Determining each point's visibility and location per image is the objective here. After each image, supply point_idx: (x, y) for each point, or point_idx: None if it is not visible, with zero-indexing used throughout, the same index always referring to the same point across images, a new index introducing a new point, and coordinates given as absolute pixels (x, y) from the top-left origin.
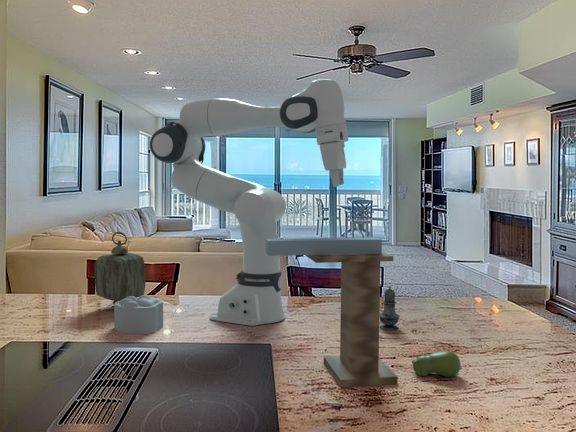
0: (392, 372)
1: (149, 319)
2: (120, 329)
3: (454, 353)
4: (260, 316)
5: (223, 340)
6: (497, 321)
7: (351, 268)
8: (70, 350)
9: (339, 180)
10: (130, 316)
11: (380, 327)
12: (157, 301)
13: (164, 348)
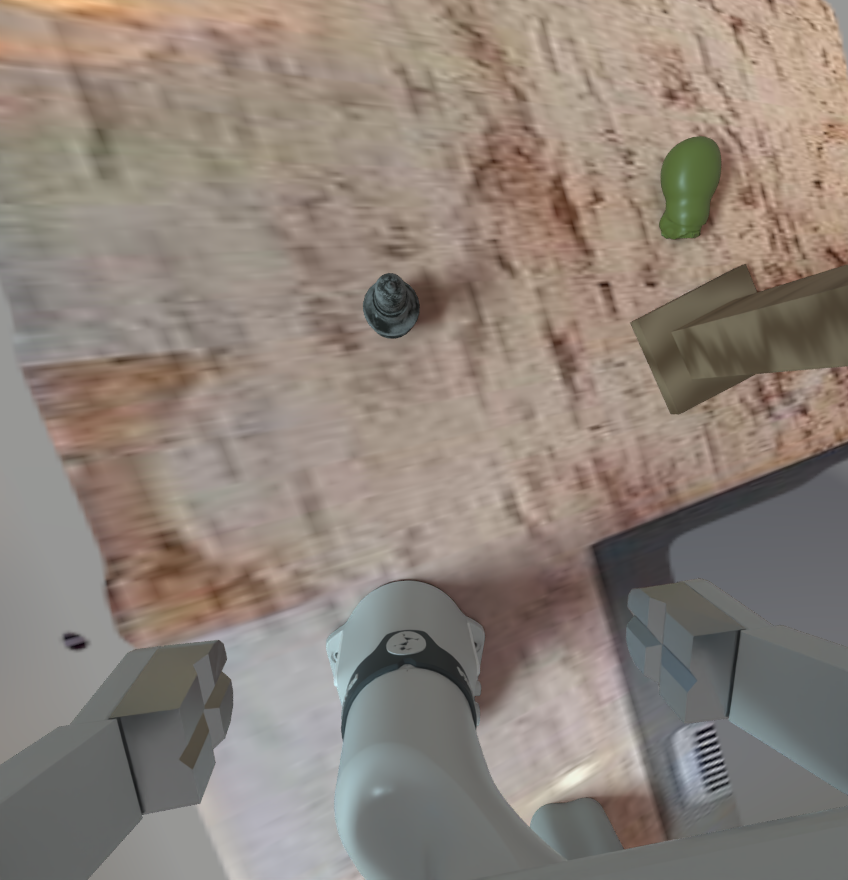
0: (729, 274)
1: (612, 832)
2: None
3: (704, 140)
4: (467, 627)
5: (597, 643)
6: (222, 15)
7: None
8: None
9: (199, 737)
10: None
11: (401, 335)
12: None
13: (672, 722)
